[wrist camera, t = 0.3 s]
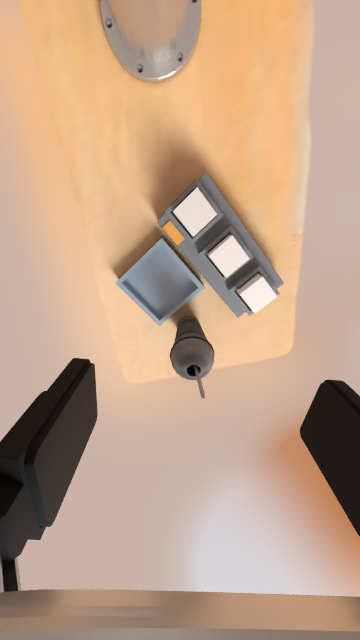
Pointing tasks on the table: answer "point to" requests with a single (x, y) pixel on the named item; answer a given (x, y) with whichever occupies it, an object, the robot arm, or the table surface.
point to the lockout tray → (160, 282)
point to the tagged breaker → (195, 212)
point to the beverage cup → (192, 352)
